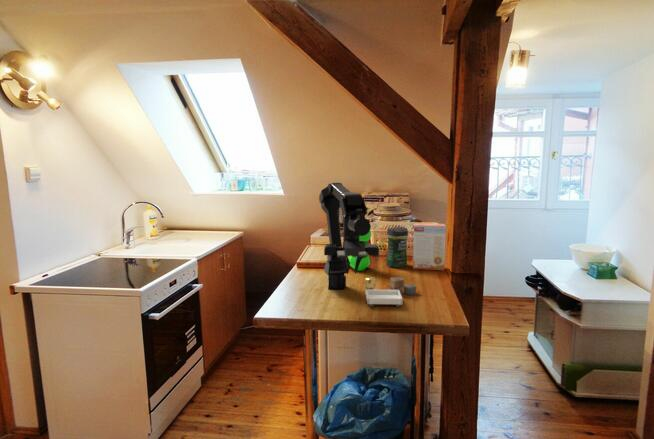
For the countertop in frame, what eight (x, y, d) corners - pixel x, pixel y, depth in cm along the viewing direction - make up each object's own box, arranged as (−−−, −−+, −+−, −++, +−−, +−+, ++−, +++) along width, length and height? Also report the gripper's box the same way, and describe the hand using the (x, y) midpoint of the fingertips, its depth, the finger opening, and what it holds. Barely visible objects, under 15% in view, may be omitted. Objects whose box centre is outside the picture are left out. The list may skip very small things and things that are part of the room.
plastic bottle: (348, 265, 186) (348, 213, 182) (370, 266, 185) (371, 213, 181) (347, 271, 176) (347, 217, 172) (370, 272, 175) (371, 217, 171)
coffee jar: (394, 269, 180) (395, 229, 177) (383, 265, 187) (384, 226, 183) (410, 266, 184) (411, 227, 181) (399, 262, 191) (400, 224, 188)
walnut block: (393, 296, 146) (394, 280, 145) (389, 292, 150) (390, 277, 149) (403, 295, 147) (404, 280, 146) (399, 291, 151) (399, 276, 150)
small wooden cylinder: (365, 295, 147) (365, 280, 146) (364, 291, 151) (364, 276, 150) (375, 295, 147) (376, 280, 146) (375, 291, 151) (375, 276, 150)
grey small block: (405, 296, 146) (405, 288, 146) (403, 292, 150) (403, 284, 150) (416, 296, 146) (417, 288, 145) (414, 292, 150) (415, 284, 150)
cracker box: (443, 267, 182) (445, 223, 179) (444, 271, 177) (446, 225, 173) (412, 265, 185) (414, 222, 182) (412, 269, 180) (414, 224, 176)
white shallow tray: (367, 307, 134) (367, 298, 134) (365, 297, 143) (365, 289, 143) (402, 307, 134) (402, 298, 133) (398, 298, 143) (398, 289, 142)
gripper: (323, 234, 127) (323, 280, 130) (380, 235, 126) (379, 281, 129) (324, 228, 138) (325, 270, 141) (377, 228, 137) (377, 271, 140)
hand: (351, 273), depth 137 cm, fingers open, 3 cm apart
